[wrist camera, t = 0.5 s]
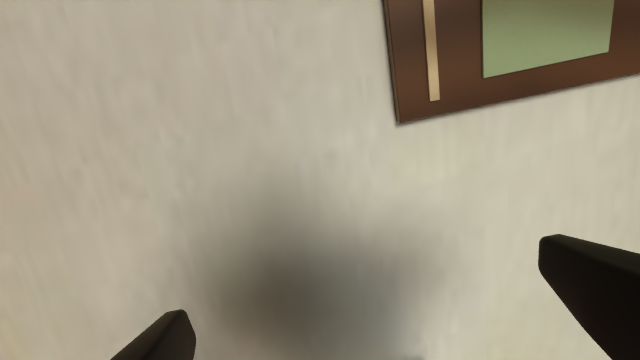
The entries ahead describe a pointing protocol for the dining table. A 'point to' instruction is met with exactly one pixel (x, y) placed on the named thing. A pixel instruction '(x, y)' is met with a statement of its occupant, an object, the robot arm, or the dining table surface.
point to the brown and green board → (504, 49)
